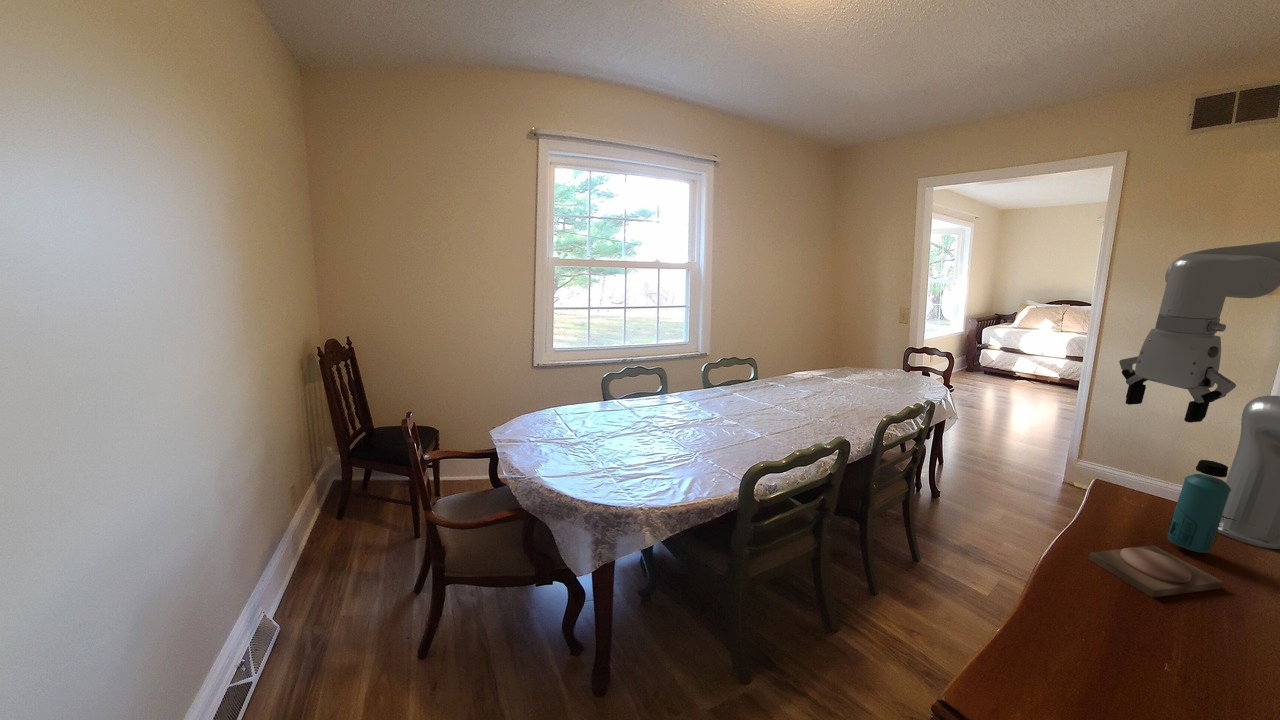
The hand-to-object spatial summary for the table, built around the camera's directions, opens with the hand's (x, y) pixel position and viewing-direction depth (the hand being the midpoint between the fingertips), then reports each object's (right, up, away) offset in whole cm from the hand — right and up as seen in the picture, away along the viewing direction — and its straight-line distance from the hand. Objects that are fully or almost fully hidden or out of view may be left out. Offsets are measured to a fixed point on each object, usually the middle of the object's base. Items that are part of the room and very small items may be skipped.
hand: (1161, 412), depth 93 cm
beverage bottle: (+14, -30, +8) cm, 34 cm away
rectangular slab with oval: (-1, -32, +1) cm, 32 cm away
